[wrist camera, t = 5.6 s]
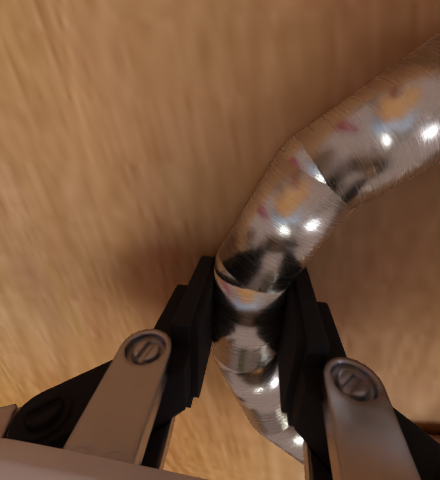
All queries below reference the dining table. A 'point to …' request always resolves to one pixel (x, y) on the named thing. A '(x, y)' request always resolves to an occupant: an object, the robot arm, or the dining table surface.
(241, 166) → the dining table surface
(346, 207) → the ring
